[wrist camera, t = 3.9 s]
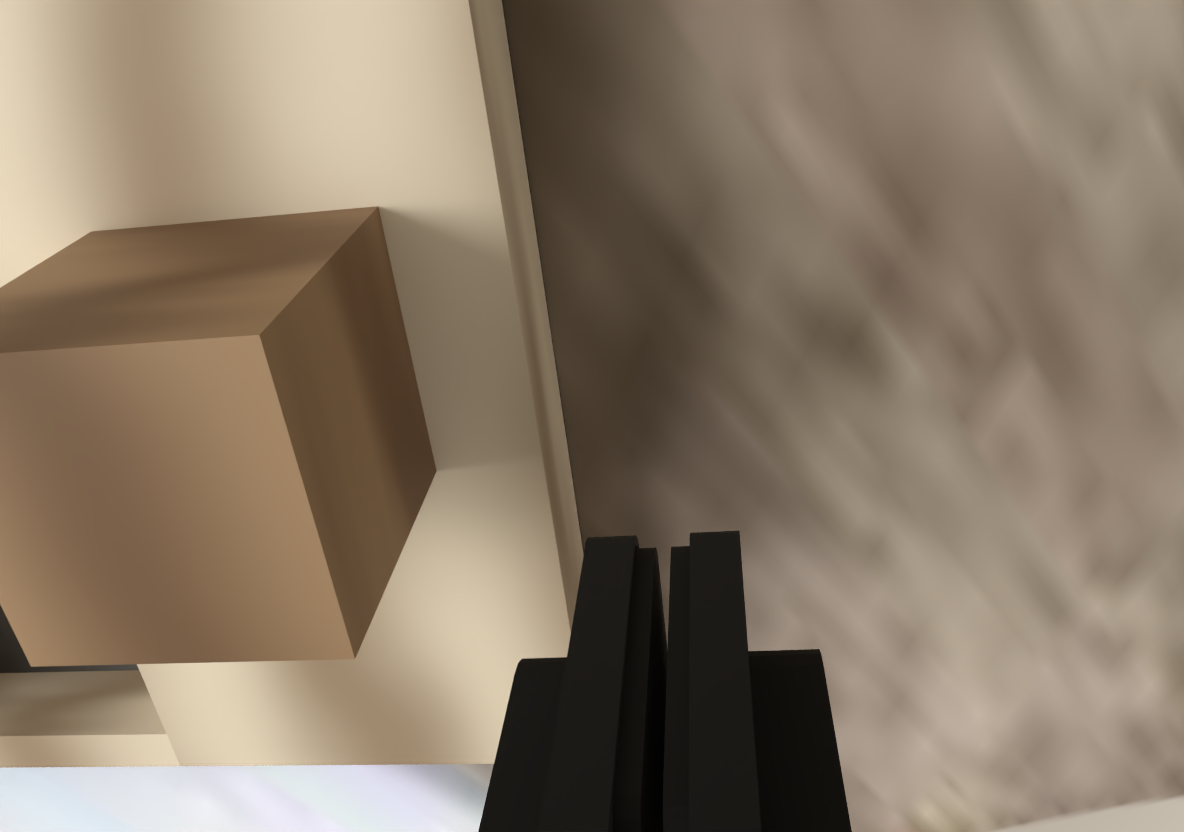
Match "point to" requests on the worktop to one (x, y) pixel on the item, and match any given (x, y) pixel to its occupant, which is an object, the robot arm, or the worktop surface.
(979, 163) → the worktop surface
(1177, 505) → the worktop surface
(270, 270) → the walnut block
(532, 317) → the trap deck
